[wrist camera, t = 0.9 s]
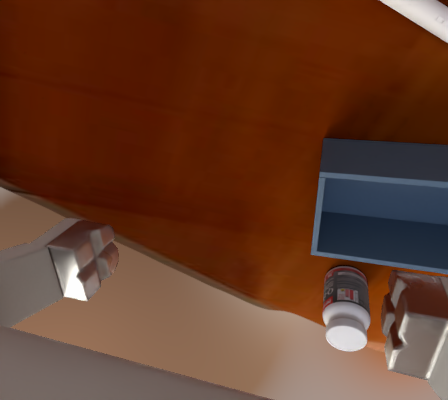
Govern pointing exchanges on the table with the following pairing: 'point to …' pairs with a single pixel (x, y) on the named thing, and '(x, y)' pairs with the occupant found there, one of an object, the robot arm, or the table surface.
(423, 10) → the marker
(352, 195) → the blue box
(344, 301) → the pill bottle
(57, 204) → the table surface
